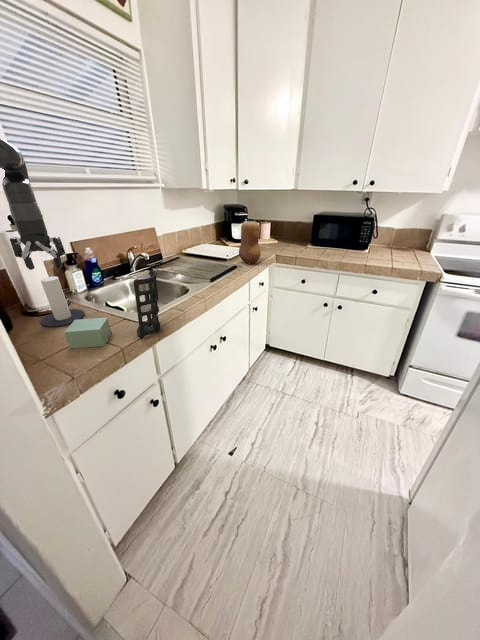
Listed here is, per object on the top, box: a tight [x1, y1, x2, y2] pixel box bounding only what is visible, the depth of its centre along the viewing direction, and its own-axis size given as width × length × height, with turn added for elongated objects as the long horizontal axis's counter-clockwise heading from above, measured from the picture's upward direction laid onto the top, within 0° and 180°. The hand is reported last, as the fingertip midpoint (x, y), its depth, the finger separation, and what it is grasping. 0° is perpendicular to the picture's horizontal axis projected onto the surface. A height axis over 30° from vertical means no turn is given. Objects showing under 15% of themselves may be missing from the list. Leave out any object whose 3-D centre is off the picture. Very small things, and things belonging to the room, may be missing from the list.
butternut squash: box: [238, 220, 262, 265], centre depth 158 cm, size 14×13×25 cm
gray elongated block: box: [40, 275, 71, 320], centre depth 94 cm, size 5×14×14 cm
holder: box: [133, 270, 161, 339], centre depth 85 cm, size 11×8×20 cm
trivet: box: [40, 308, 85, 329], centre depth 97 cm, size 14×14×1 cm
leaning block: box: [63, 317, 113, 350], centre depth 82 cm, size 10×8×6 cm
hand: (45, 268), depth 89 cm, fingers open, 8 cm apart
